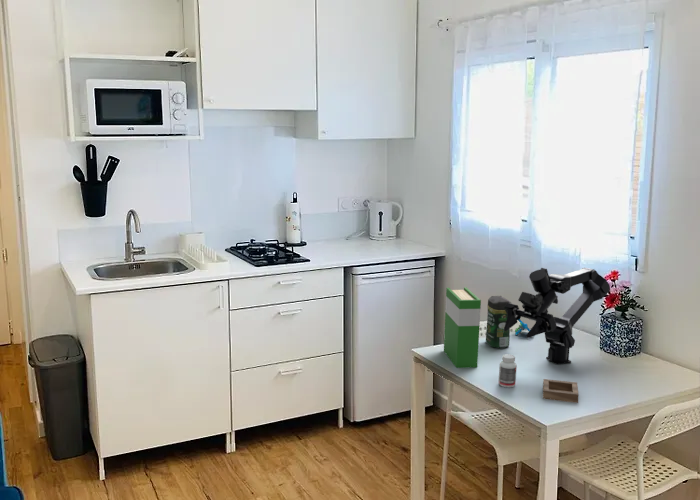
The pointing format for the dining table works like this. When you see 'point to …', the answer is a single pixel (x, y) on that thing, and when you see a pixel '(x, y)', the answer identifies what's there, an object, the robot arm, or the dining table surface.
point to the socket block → (560, 390)
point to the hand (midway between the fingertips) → (515, 333)
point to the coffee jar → (497, 323)
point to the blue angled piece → (521, 327)
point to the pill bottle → (507, 371)
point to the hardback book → (462, 327)
